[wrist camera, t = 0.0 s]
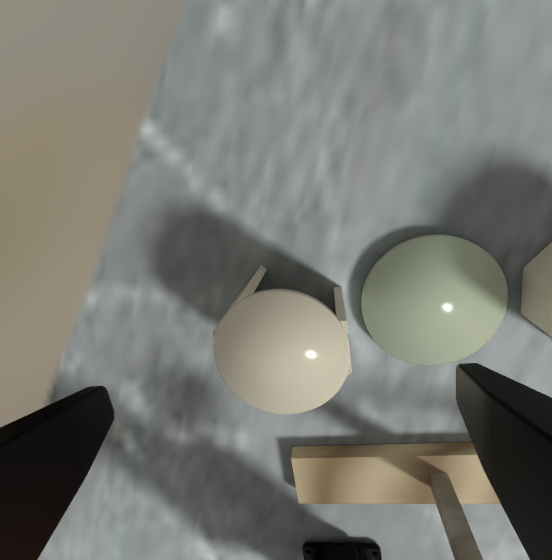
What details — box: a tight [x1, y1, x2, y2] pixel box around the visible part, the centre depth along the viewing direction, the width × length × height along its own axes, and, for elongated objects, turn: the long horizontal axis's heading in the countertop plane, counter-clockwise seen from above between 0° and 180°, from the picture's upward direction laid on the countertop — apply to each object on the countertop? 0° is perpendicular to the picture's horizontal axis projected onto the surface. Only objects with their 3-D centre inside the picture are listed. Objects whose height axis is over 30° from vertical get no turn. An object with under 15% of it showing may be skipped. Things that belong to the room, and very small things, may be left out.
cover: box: [213, 265, 352, 414], centre depth 21 cm, size 7×7×6 cm
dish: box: [361, 234, 508, 365], centre depth 22 cm, size 9×9×1 cm
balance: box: [291, 442, 501, 560], centre depth 20 cm, size 24×6×13 cm, turn 99°
